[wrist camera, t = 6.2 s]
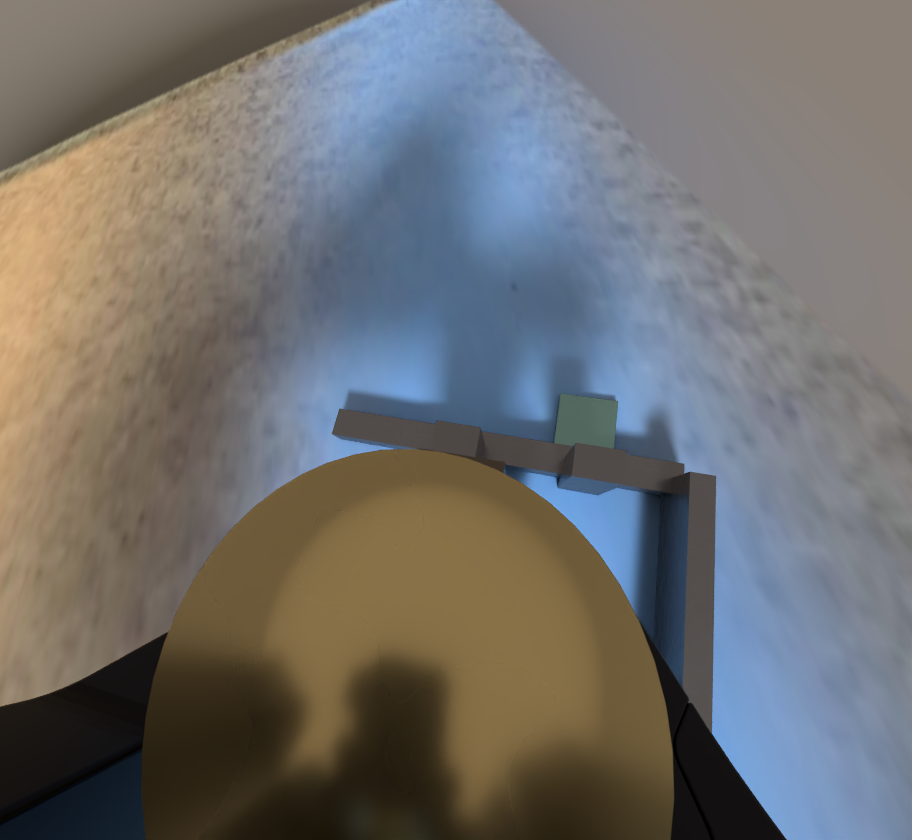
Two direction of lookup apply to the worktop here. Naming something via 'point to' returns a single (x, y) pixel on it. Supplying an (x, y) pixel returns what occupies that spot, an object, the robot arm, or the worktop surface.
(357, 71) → the worktop surface
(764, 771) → the worktop surface
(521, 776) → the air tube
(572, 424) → the frame
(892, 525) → the worktop surface
